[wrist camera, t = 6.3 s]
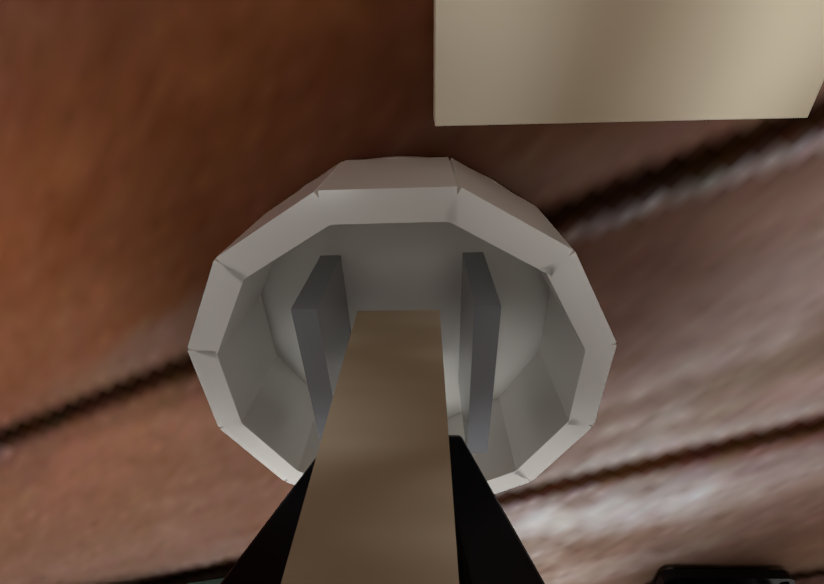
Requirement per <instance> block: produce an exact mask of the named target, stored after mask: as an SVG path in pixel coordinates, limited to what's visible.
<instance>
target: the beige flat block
mask: <svg viewBox="0 0 824 584" xmlns="http://www.w3.org/2000/svg"><path fill="white" fill-rule="evenodd" d="M823 81H824V0H434V109H433V119H434V123H435V126H464V125H508V124H551V123H594V122H638V121H681V120H724V119H768V118H807V117H808V115H809V113H810V110H811V108H812V106H813V104H814V101H815V99H816V97H817V94H818V92H819V90H820V88H821V85H822V83H823Z"/></svg>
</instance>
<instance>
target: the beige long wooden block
mask: <svg viewBox="0 0 824 584" xmlns="http://www.w3.org/2000/svg"><path fill="white" fill-rule="evenodd" d="M281 584H459V574H458V560H457V546H456V532H455V518H454V504H453V490H452V476H451V462H450V448H449V434H448V420H447V406H446V392H445V378H444V364H443V350H442V336H441V322H440V310H392V311H357V314H356V317H355V321H354V324H353V328H352V331H351V335H350V339H349V342H348V346H347V349H346V353H345V356H344V360H343V364H342V367H341V371H340V374H339V378H338V381H337V385H336V389H335V392H334V396H333V399H332V403H331V406H330V410H329V414H328V417H327V421H326V424H325V428H324V431H323V435H322V439H321V442H320V446H319V449H318V453H317V456H316V460H315V464H314V467H313V471H312V474H311V478H310V481H309V485H308V489H307V492H306V496H305V499H304V503H303V506H302V510H301V514H300V517H299V521H298V524H297V528H296V531H295V535H294V539H293V542H292V546H291V549H290V553H289V556H288V560H287V564H286V567H285V571H284V574H283V578H282V581H281Z"/></svg>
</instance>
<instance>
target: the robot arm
mask: <svg viewBox="0 0 824 584" xmlns="http://www.w3.org/2000/svg"><path fill="white" fill-rule="evenodd" d="M449 448H450V462H451V476H452V490H453V504H454V518H455V532H456V546H457V560H458V574H459V584H545V583H544V581H543V580H542V578H541V576H540V574H539V572H538V571H537V569H536V567H535V565H534V564H533V562H532V560H531V558H530V557H529V555H528V553H527V551H526V549H525V548H524V546H523V544H522V542H521V541H520V539H519V537H518V535H517V534H516V532H515V530H514V528H513V526H512V525H511V523H510V521H509V519H508V518H507V516H506V514H505V512H504V511H503V509H502V507H501V505H500V503H499V502H498V500H497V498H496V496H495V495H494V493H493V491H492V489H491V488H490V486H489V484H488V482H487V480H486V479H485V477H484V475H483V473H482V472H481V470H480V468H479V466H478V465H477V463H476V461H475V459H474V457H473V456H472V454H471V452H470V450H469V449H468V447H467V445H466V443H465V442H464V440H463V438H462V437H461V436H460V435H449ZM315 460H316V458H315V459H314V461H313V462H312V463H311V464H310V466H309V467H308V468H307V470H306V471H305V472H304V474H303V475H302V476H301V478H300V479H299V480H298V482H297V483H296V484H295V486H294V487H293V488H292V490H291V491H290V492H289V493H288V495H287V496H286V497H285V499H284V500H283V501H282V503H281V504H280V505H279V507H278V508H277V509H276V511H275V512H274V513H273V515H272V516H271V517H270V519H269V520H268V521H267V522H266V524H265V525H264V526H263V528H262V529H261V530H260V532H259V533H258V534H257V536H256V537H255V538H254V540H253V541H252V542H251V544H250V545H249V546H248V548H247V549H246V550H245V551H244V553H243V554H242V555H241V557H240V558H239V559H238V561H237V562H236V563H235V565H234V566H233V567H232V569H231V570H230V571H229V573H228V574H227V575H226V577H225V578H224V579H223V580H222V582H221V583H220V584H281V581H282V578H283V574H284V571H285V567H286V564H287V560H288V556H289V553H290V549H291V546H292V542H293V539H294V535H295V531H296V528H297V524H298V521H299V517H300V514H301V510H302V506H303V503H304V499H305V496H306V492H307V489H308V485H309V481H310V478H311V474H312V471H313V467H314V464H315ZM794 583H795V581H794V579H793V578H792V576H791V575H790V574H789V572H788V571H786V570H718V569H668V570H665V571H663V572H661V573H660V575H659V577H658V578H657V580H656V582H655V584H794Z"/></svg>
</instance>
